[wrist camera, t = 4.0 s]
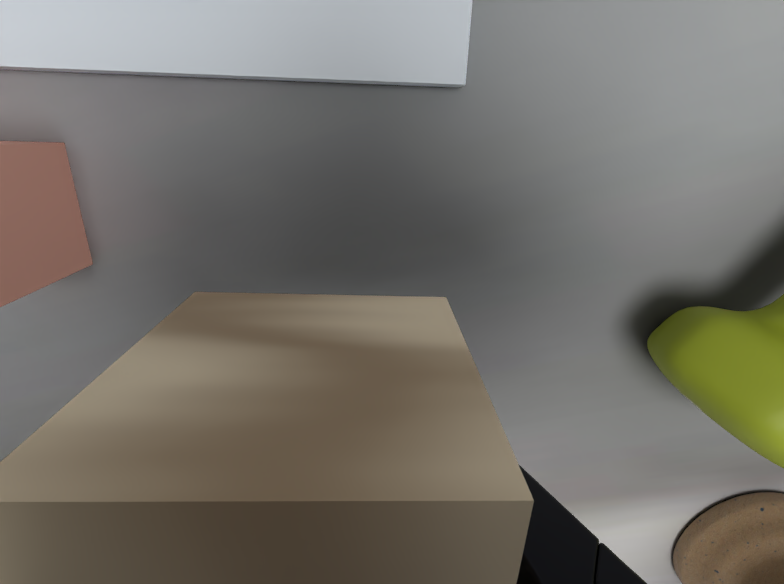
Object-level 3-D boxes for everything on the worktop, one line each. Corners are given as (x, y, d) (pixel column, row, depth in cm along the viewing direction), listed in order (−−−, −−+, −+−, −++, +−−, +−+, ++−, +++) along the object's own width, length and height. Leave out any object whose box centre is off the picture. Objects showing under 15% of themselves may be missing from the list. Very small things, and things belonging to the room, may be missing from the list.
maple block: (222, 485, 10) (87, 797, 5) (194, 291, 8) (-44, 501, 4) (428, 485, 10) (474, 783, 6) (446, 296, 8) (534, 500, 4)
